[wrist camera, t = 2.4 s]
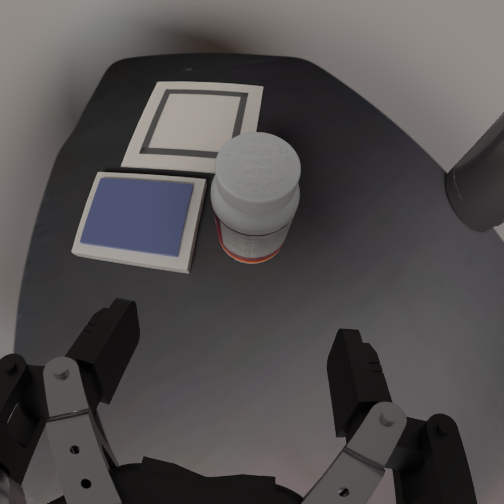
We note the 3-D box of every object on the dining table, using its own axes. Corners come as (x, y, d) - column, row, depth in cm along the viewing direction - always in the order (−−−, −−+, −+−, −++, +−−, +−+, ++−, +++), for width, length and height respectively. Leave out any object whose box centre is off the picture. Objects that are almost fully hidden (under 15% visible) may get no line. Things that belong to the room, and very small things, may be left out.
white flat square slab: (263, 87, 34) (263, 86, 34) (249, 177, 30) (249, 175, 30) (158, 83, 35) (157, 81, 34) (121, 166, 30) (120, 165, 30)
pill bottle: (230, 196, 29) (225, 115, 19) (291, 214, 29) (317, 139, 18) (209, 254, 27) (189, 192, 17) (275, 274, 27) (297, 222, 16)
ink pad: (207, 185, 30) (205, 176, 28) (189, 273, 27) (186, 268, 25) (101, 177, 30) (96, 169, 28) (77, 256, 27) (69, 250, 25)
